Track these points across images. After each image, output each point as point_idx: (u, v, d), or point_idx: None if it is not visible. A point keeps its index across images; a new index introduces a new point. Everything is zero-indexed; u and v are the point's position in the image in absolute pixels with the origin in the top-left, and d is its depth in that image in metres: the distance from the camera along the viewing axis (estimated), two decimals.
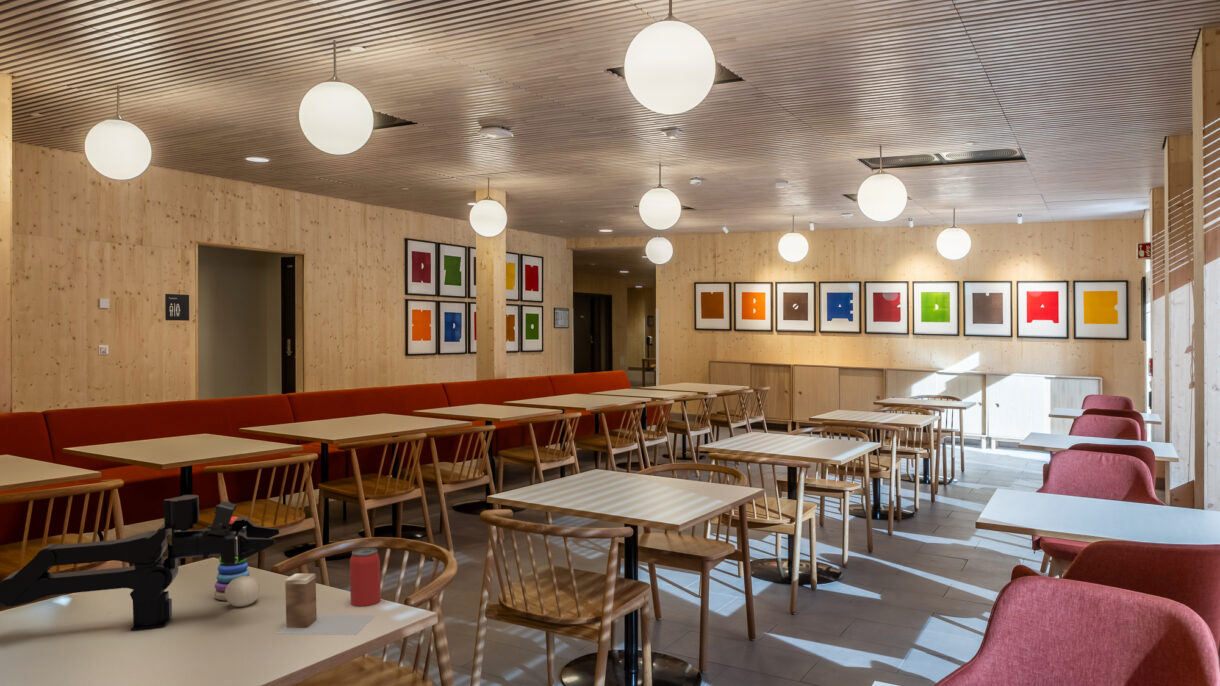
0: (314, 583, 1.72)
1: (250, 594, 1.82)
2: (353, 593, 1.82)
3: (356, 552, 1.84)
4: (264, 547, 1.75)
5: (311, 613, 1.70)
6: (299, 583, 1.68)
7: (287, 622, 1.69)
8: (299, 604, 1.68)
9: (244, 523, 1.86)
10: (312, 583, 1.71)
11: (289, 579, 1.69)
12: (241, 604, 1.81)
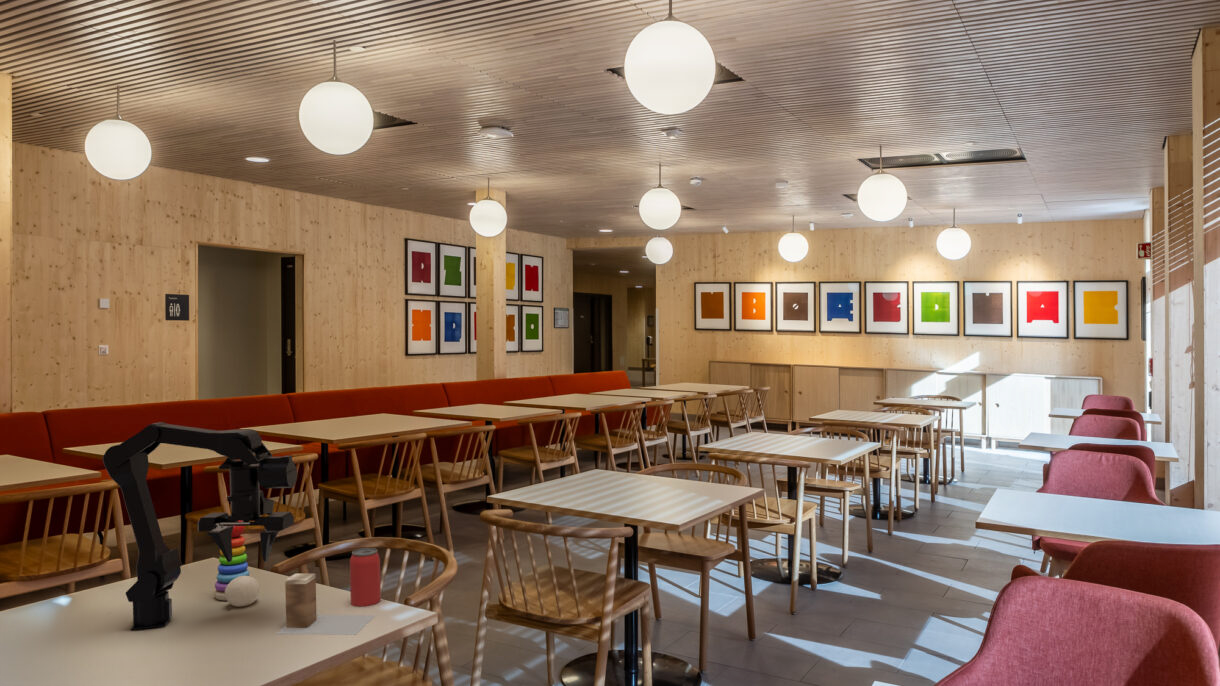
0: (314, 583, 1.72)
1: (250, 594, 1.82)
2: (353, 593, 1.82)
3: (356, 552, 1.84)
4: (266, 553, 1.72)
5: (311, 613, 1.70)
6: (299, 583, 1.68)
7: (287, 622, 1.69)
8: (299, 604, 1.68)
9: None
10: (312, 583, 1.71)
11: (289, 579, 1.69)
12: (241, 604, 1.81)
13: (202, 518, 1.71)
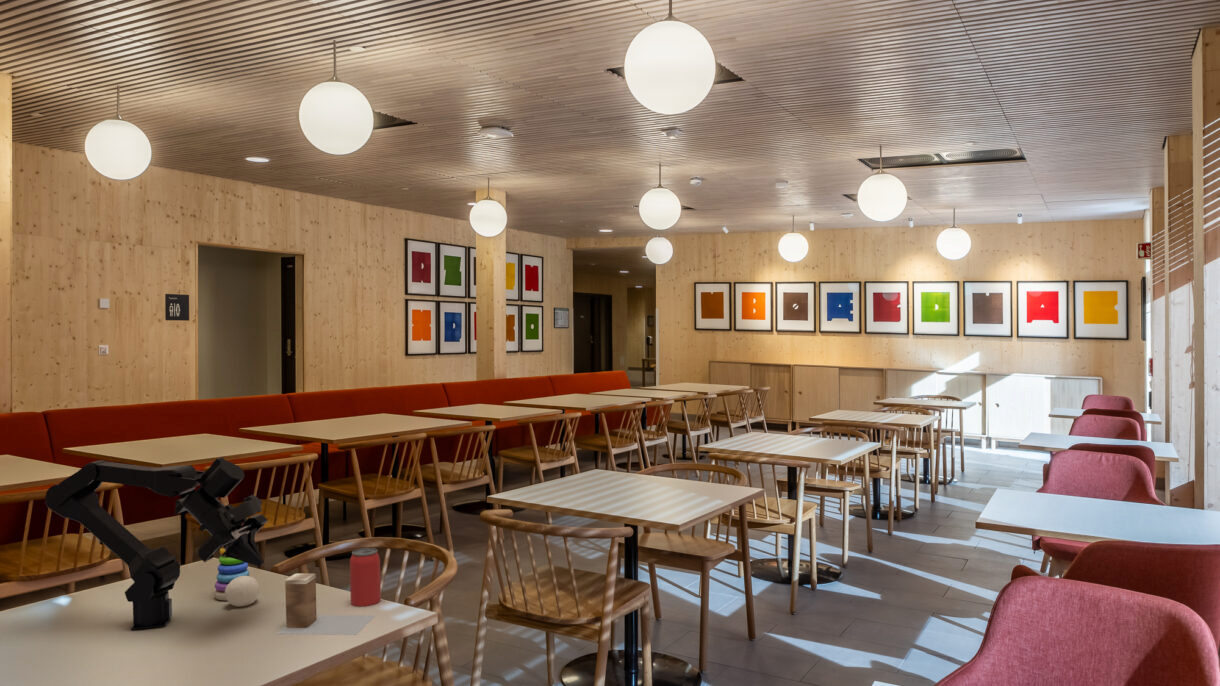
0: (314, 583, 1.72)
1: (250, 594, 1.82)
2: (353, 593, 1.82)
3: (356, 552, 1.84)
4: (250, 562, 1.70)
5: (311, 613, 1.70)
6: (299, 583, 1.68)
7: (287, 622, 1.69)
8: (299, 604, 1.68)
9: (261, 523, 1.80)
10: (312, 583, 1.71)
11: (289, 579, 1.69)
12: (241, 604, 1.81)
13: None
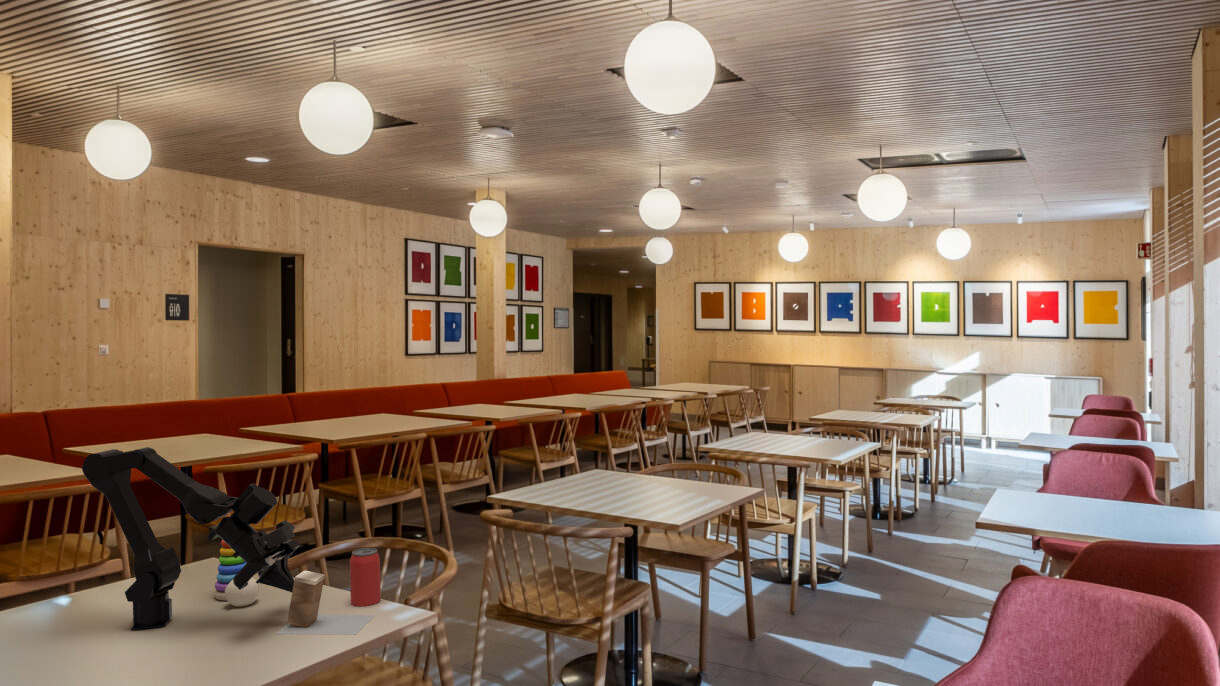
0: (322, 584, 1.72)
1: (250, 594, 1.82)
2: (353, 593, 1.82)
3: (356, 552, 1.84)
4: (284, 588, 1.70)
5: (313, 613, 1.70)
6: (308, 583, 1.68)
7: (288, 618, 1.69)
8: (304, 603, 1.68)
9: None
10: (320, 584, 1.71)
11: (299, 576, 1.69)
12: (241, 604, 1.81)
13: None
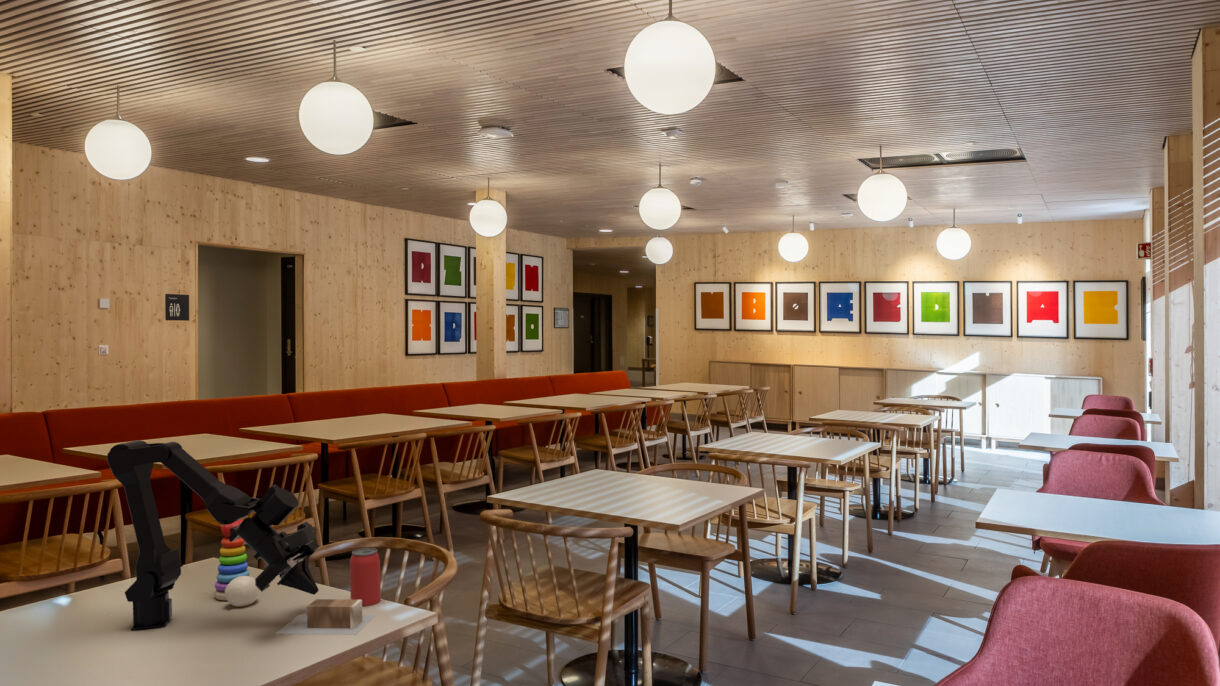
0: None
1: (250, 594, 1.82)
2: (353, 593, 1.82)
3: (356, 552, 1.84)
4: (305, 590, 1.70)
5: None
6: (350, 621, 1.68)
7: (312, 607, 1.68)
8: (330, 620, 1.68)
9: None
10: None
11: (354, 609, 1.68)
12: (241, 604, 1.81)
13: None
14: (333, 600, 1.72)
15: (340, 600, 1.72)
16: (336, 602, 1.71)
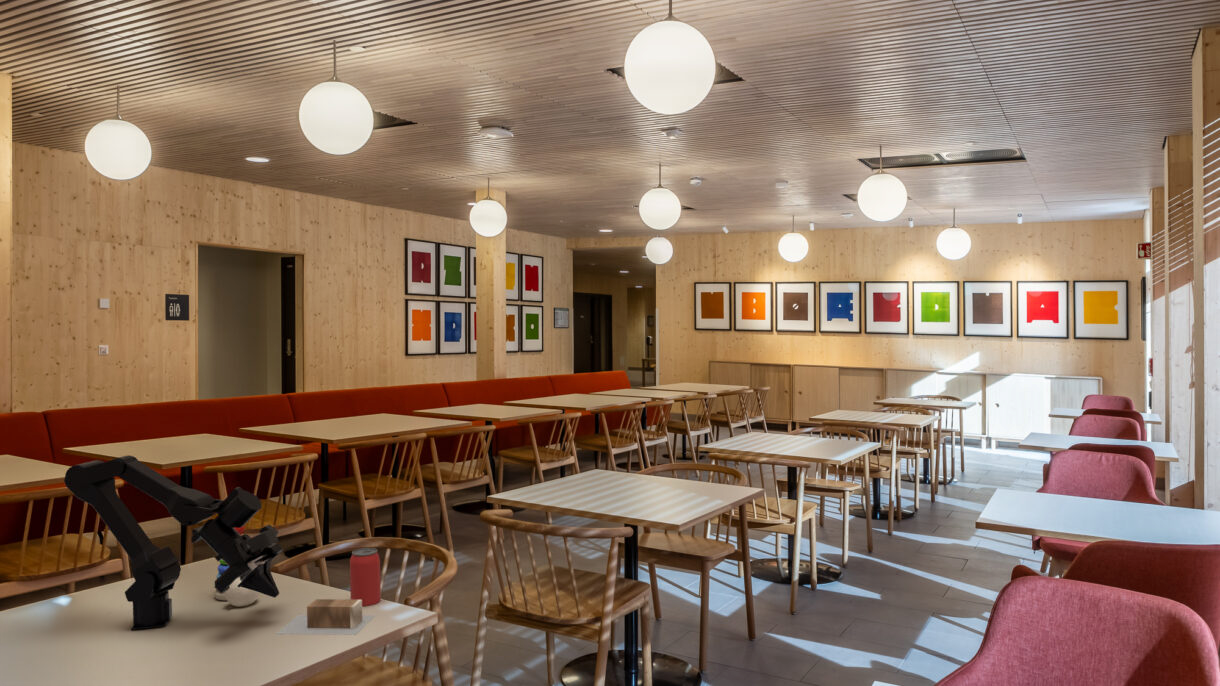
0: None
1: (250, 594, 1.82)
2: (353, 593, 1.82)
3: (356, 552, 1.84)
4: (265, 593, 1.70)
5: None
6: (350, 621, 1.68)
7: (312, 607, 1.68)
8: (330, 620, 1.68)
9: None
10: None
11: (354, 609, 1.68)
12: (241, 604, 1.81)
13: None
14: (333, 600, 1.72)
15: (340, 600, 1.72)
16: (336, 602, 1.71)
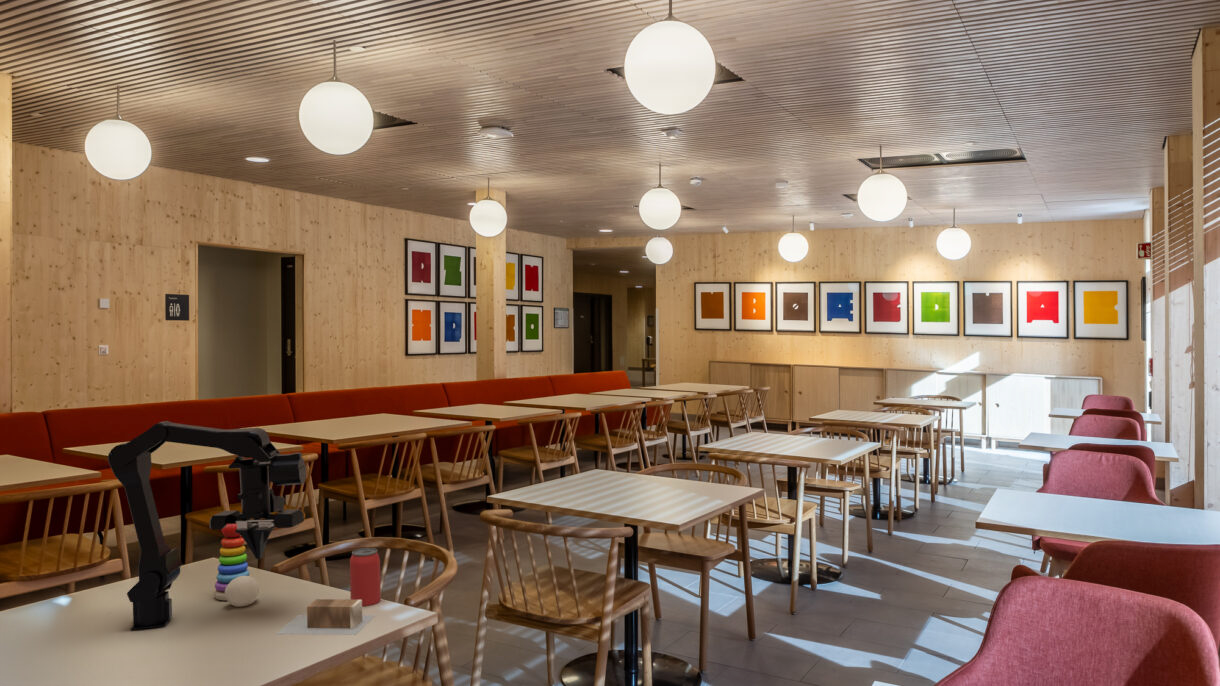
0: None
1: (250, 594, 1.82)
2: (353, 593, 1.82)
3: (356, 552, 1.84)
4: (260, 550, 1.74)
5: None
6: (350, 621, 1.68)
7: (312, 607, 1.68)
8: (330, 620, 1.68)
9: None
10: None
11: (354, 609, 1.68)
12: (241, 604, 1.81)
13: (214, 516, 1.74)
14: (333, 600, 1.72)
15: (340, 600, 1.72)
16: (336, 602, 1.71)
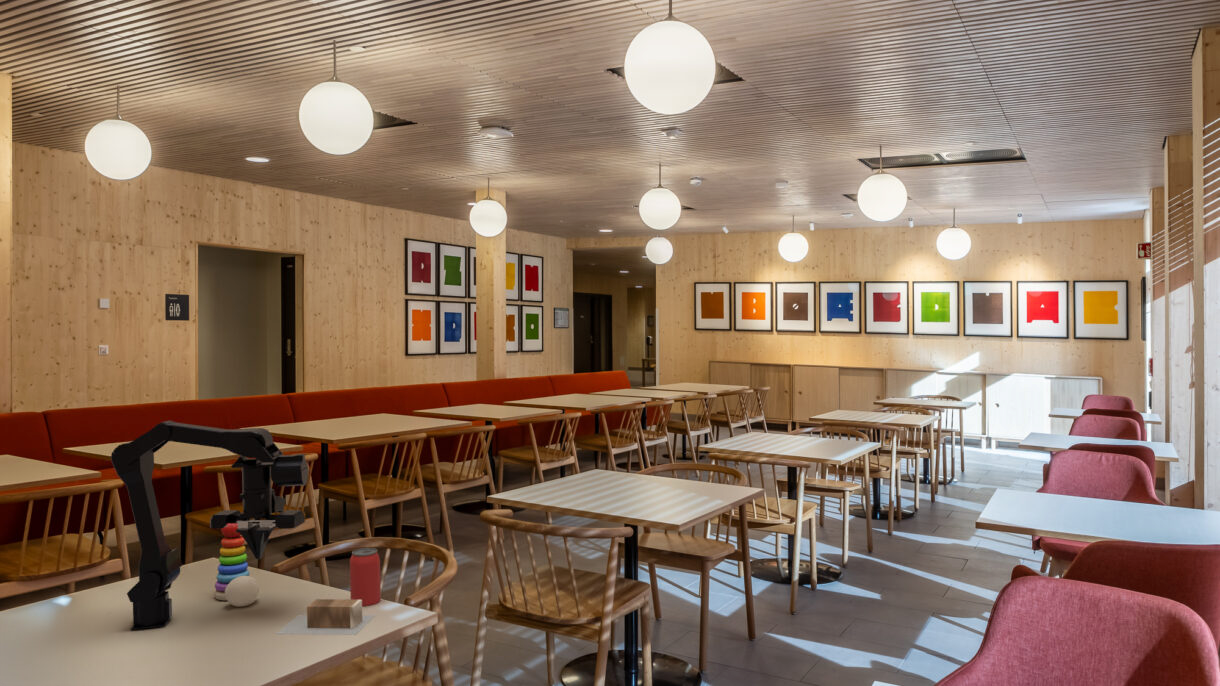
0: None
1: (250, 594, 1.82)
2: (353, 593, 1.82)
3: (356, 552, 1.84)
4: (261, 550, 1.75)
5: None
6: (350, 621, 1.68)
7: (312, 607, 1.68)
8: (330, 620, 1.68)
9: None
10: None
11: (354, 609, 1.68)
12: (241, 604, 1.81)
13: (214, 515, 1.74)
14: (333, 600, 1.72)
15: (340, 600, 1.72)
16: (336, 602, 1.71)
